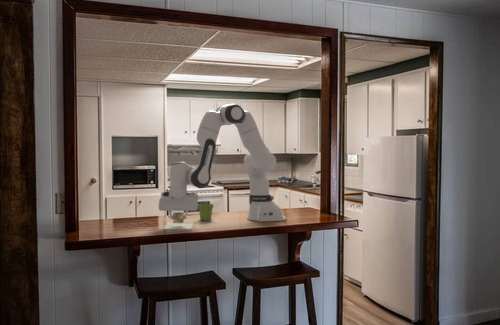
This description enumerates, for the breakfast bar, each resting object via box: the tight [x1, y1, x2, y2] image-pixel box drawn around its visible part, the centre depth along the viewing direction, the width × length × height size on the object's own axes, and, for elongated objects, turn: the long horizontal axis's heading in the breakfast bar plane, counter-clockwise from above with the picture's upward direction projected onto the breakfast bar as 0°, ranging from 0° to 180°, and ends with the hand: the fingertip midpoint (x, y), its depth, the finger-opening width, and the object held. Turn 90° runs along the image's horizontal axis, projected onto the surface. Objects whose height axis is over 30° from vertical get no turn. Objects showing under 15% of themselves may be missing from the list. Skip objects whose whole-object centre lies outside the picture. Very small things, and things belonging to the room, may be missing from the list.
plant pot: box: [198, 203, 214, 221], centre depth 244 cm, size 9×9×9 cm
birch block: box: [172, 211, 185, 224], centre depth 222 cm, size 5×5×5 cm
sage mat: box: [163, 223, 194, 230], centre depth 222 cm, size 14×14×1 cm
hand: (178, 219), depth 222 cm, fingers closed on birch block, 5 cm apart
